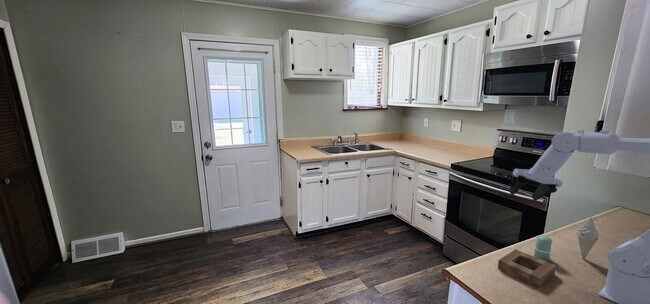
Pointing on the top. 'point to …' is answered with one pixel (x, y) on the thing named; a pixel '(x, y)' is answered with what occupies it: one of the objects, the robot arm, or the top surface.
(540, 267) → the stand
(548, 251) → the peg
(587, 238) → the ice cream cone
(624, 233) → the top surface
